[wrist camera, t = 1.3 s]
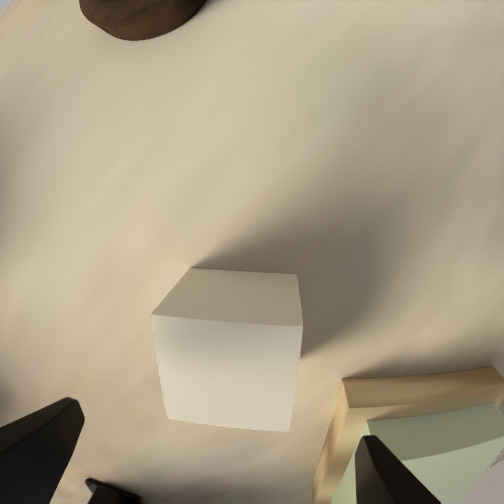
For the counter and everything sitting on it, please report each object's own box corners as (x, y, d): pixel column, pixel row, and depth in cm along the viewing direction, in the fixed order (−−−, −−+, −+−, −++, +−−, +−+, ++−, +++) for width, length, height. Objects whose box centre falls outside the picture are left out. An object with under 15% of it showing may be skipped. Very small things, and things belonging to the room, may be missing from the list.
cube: (288, 362, 16) (288, 431, 11) (195, 355, 16) (167, 418, 11) (296, 273, 14) (303, 326, 10) (190, 267, 15) (150, 314, 10)
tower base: (434, 462, 18) (444, 487, 15) (312, 476, 19) (313, 506, 16) (489, 361, 15) (509, 386, 12) (340, 372, 16) (349, 408, 13)
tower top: (440, 483, 15) (449, 511, 12) (331, 499, 16) (333, 533, 13) (494, 401, 13) (515, 432, 10) (366, 420, 13) (377, 464, 11)
